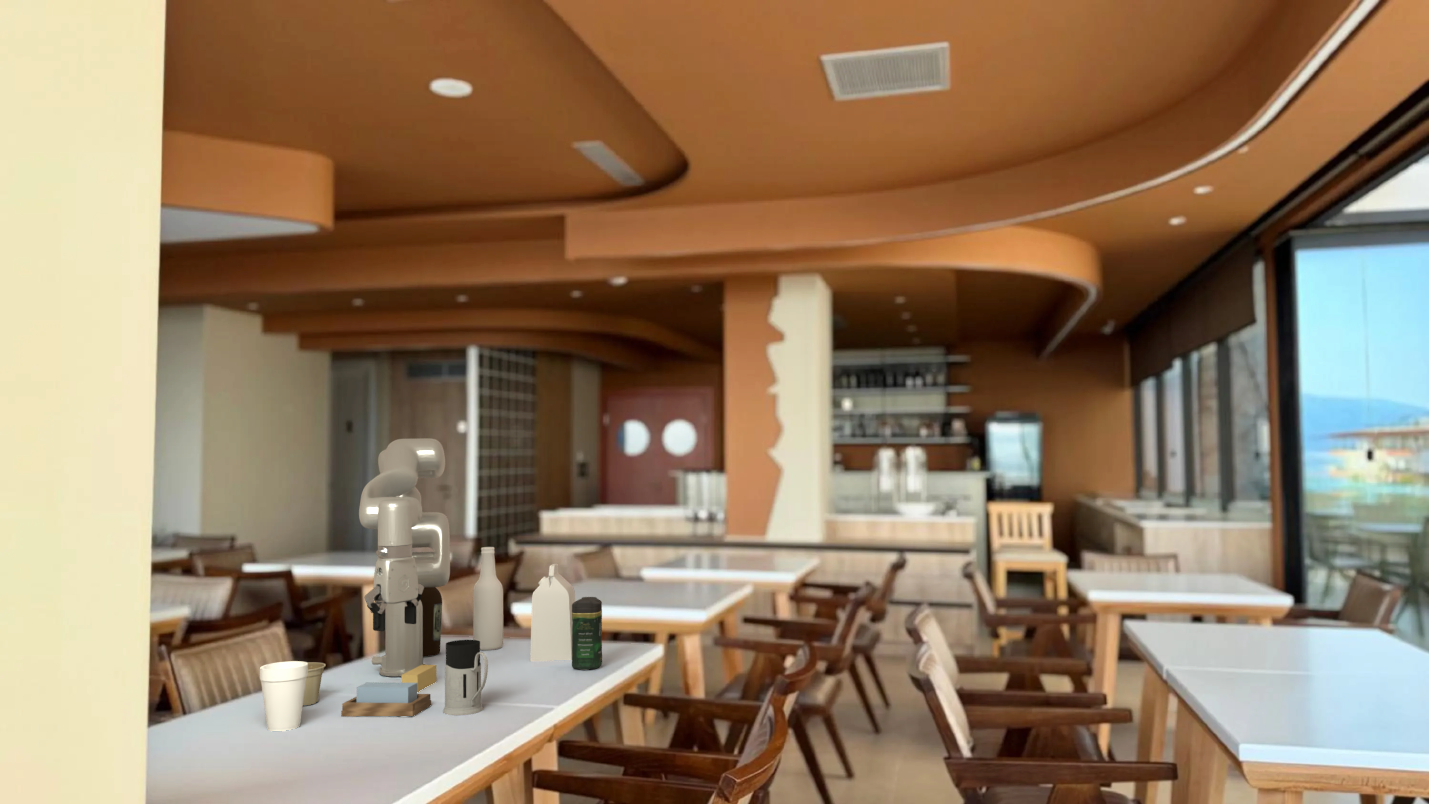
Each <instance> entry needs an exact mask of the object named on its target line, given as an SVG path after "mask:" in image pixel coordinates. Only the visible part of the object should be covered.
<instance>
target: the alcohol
mask: <svg viewBox="0 0 1429 804" xmlns="http://www.w3.org/2000/svg"><path fill="white" fill-rule="evenodd" d="M495 549H496V548H495V547H494V546H484V547H481V548H480V550H481V552H480V554H481V557H480V559H481V560H480V572H479V577H478V580H477V581H476V582H475V584H474V585H473V589H472V622H473V623H472V626H473V627H472V629H473V631H472V637H473V638H472V640H478V641H480V651H494V650H500V649H502V647H503V646H504V587H503V584H502V583H501V581H500V580H499V579H498V576H497V571H496V559H495V553H496V552H495Z"/></svg>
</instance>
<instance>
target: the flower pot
mask: <svg viewBox="0 0 1429 804" xmlns="http://www.w3.org/2000/svg"><path fill="white" fill-rule="evenodd" d="M307 663H308V675H307V677H306V684H305V691H304V699H303V705H308V706H312V705H311V704H313V705H316V702H317V703H318V702H319V697H320V690H321V689H320V688H321V682H322V677H323V673H324V669H325V667H326V665H327V664H326V663H324V662H314V661H313V662H307Z"/></svg>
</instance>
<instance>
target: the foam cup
mask: <svg viewBox="0 0 1429 804" xmlns="http://www.w3.org/2000/svg"><path fill="white" fill-rule="evenodd" d="M308 663H309V662H307V661H300V660H299V661H298V660H292V661H291V660H289V661H278V662H271V663H266V664H264V665H261V666H260V668H259V681H260V684H261V691H262V697H263V707H264V714H265V719H266V728H267V731H268V730H270V731H269V732H272V731H282V732H287V731H286V730H289V731H292V730H291V729H293V730H296V729H295V728H297V727H299V726H301V722H302V714H303V707H304V706H303V699H304V691H305V684H306V677H307V675H308ZM299 728H300V727H299ZM297 729H298V728H297Z"/></svg>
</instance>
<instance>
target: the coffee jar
mask: <svg viewBox="0 0 1429 804" xmlns="http://www.w3.org/2000/svg"><path fill="white" fill-rule="evenodd" d="M602 605H603V603H602V600H600V599H599V598H598V597H596V596H582V597H581V598H579V599H578V600H575V602H574V603H573V604H572V661H571V667H572V669H573V670H574V669H575V670H577V669H578V670H581V671H588V670H590V669H594V670H595V669H598V668H600V667H601V666H602V664H603V609H602V607H603V606H602Z"/></svg>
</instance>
